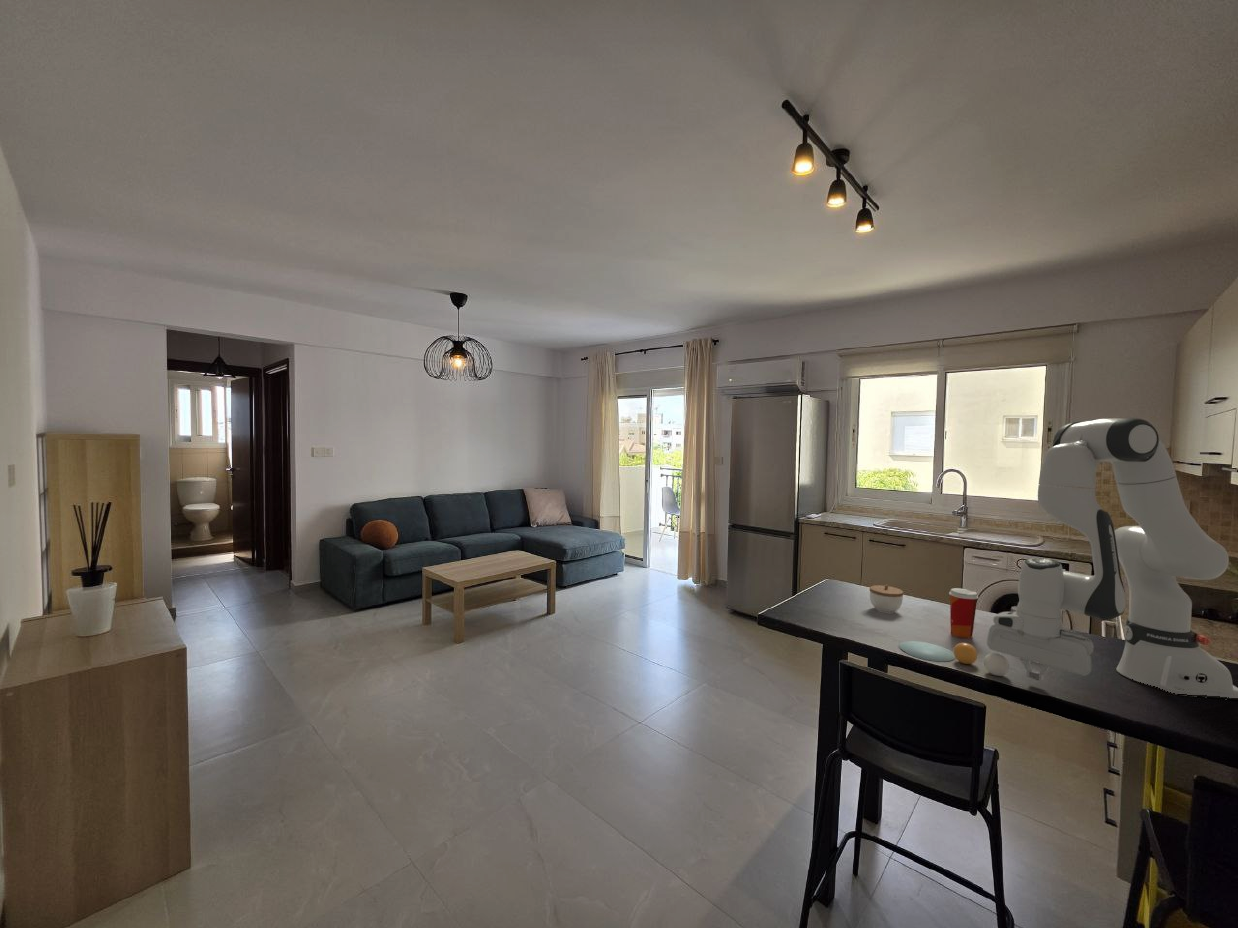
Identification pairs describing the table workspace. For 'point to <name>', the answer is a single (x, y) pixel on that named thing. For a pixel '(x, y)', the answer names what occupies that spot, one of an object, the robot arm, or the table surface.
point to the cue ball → (996, 664)
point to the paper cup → (962, 612)
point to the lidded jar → (886, 598)
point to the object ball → (965, 653)
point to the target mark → (927, 651)
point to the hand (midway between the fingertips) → (1034, 678)
